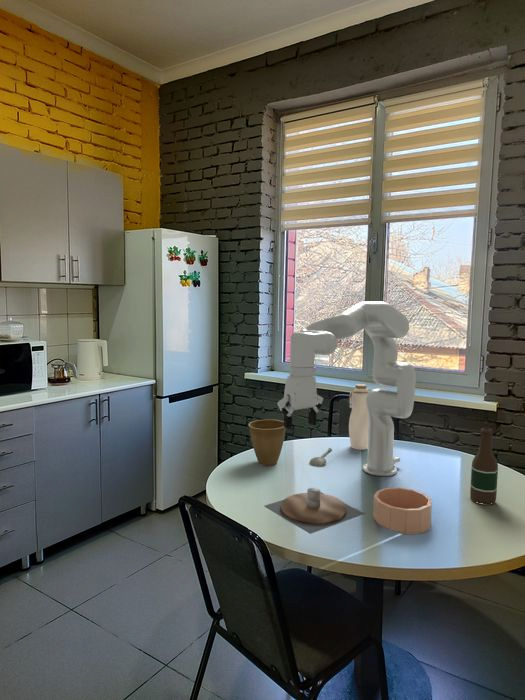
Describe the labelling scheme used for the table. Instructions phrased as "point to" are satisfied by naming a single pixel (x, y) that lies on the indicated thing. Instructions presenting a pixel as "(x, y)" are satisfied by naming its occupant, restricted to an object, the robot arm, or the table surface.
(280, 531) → the table surface
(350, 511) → the mat
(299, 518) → the lid
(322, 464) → the soupspoon
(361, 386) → the water bottle
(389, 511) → the bowl
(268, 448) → the plant pot
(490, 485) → the beer bottle
